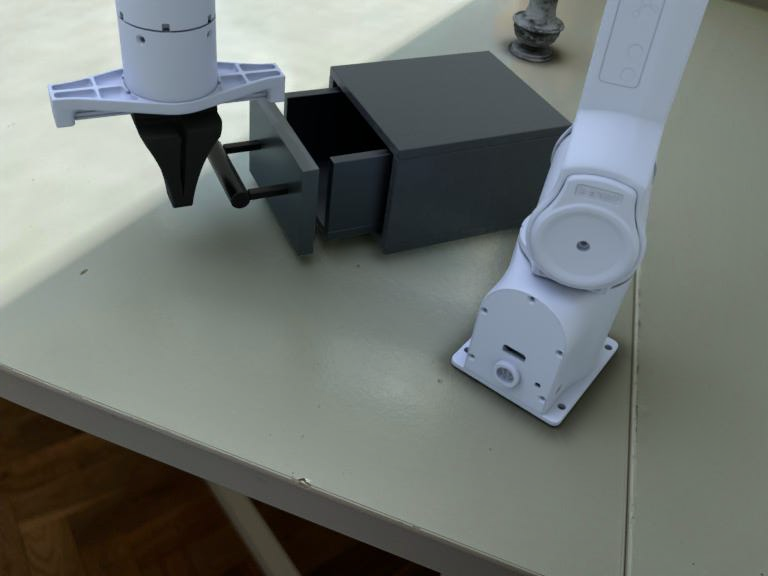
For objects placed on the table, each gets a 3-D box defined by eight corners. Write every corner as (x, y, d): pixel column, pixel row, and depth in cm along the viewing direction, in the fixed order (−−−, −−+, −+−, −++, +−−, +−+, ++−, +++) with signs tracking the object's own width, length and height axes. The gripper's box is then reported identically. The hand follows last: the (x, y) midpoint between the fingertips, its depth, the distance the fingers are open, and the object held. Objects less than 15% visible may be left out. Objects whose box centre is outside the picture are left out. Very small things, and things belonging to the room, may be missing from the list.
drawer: (241, 268, 55) (240, 180, 50) (197, 178, 62) (193, 94, 57) (460, 225, 61) (478, 144, 57) (397, 148, 69) (409, 71, 64)
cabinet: (384, 254, 59) (399, 150, 53) (322, 164, 67) (330, 65, 61) (543, 221, 65) (574, 124, 59) (469, 142, 73) (489, 50, 67)
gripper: (262, -20, 52) (260, 155, 61) (27, -8, 46) (62, 183, 55) (299, 24, 47) (291, 206, 56) (43, 44, 42) (79, 243, 51)
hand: (179, 199), depth 56 cm, fingers closed
